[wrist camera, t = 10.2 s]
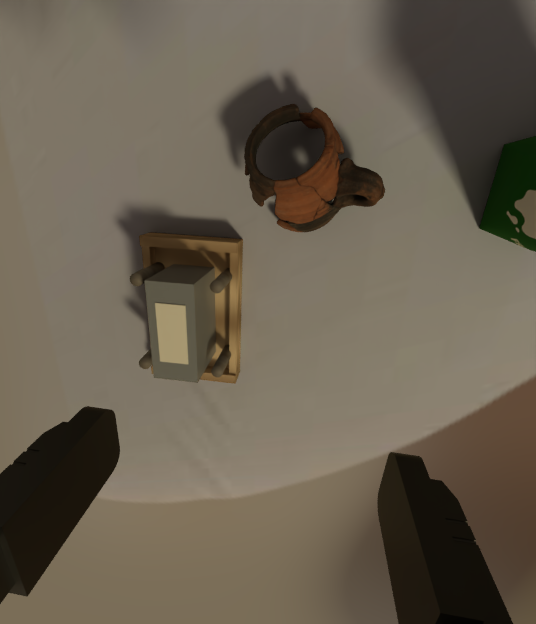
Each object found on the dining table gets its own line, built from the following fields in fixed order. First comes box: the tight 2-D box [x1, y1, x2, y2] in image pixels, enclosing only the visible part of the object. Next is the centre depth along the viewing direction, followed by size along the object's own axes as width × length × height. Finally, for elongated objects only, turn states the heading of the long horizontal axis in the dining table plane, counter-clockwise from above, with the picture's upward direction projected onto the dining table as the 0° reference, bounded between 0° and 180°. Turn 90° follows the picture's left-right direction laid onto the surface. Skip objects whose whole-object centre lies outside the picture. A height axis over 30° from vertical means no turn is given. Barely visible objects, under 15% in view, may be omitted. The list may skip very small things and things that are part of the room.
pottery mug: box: [244, 104, 385, 232], centre depth 29 cm, size 12×10×8 cm
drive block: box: [145, 264, 216, 383], centre depth 34 cm, size 10×4×7 cm, turn 177°
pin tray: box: [130, 232, 243, 383], centre depth 35 cm, size 16×10×6 cm, turn 177°
